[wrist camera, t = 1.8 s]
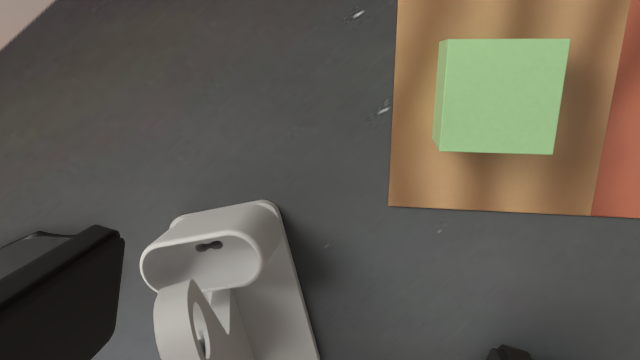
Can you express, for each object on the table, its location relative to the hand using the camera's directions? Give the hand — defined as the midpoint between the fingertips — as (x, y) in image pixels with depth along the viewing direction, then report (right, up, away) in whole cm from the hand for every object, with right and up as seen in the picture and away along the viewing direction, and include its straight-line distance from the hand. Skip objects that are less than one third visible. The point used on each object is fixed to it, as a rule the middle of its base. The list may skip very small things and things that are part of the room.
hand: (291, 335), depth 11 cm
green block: (+13, +10, +20) cm, 26 cm away
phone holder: (-6, -6, +28) cm, 29 cm away
